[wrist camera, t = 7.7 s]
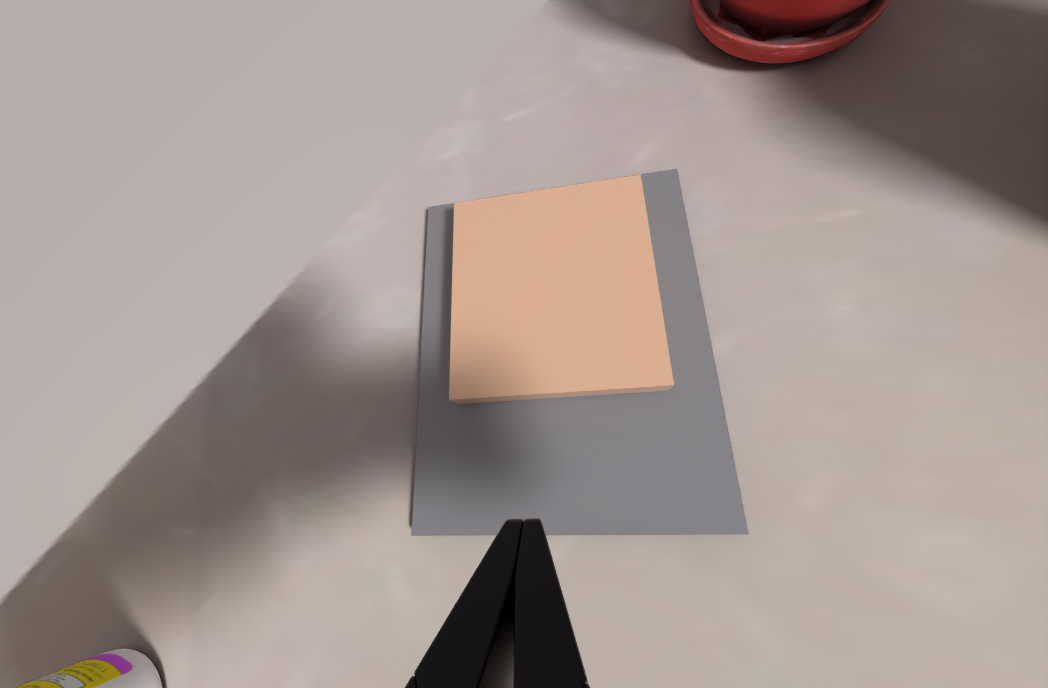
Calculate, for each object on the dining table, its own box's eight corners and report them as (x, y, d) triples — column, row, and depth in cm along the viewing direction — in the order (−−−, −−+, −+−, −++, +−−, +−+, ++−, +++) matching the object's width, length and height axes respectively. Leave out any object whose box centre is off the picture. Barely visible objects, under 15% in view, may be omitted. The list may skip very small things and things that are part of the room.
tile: (674, 385, 17) (640, 174, 21) (448, 400, 19) (454, 203, 23) (667, 391, 19) (637, 194, 22) (460, 404, 21) (463, 220, 24)
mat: (743, 531, 17) (748, 534, 16) (416, 533, 20) (411, 535, 19) (675, 175, 23) (676, 168, 22) (431, 212, 26) (428, 207, 25)
